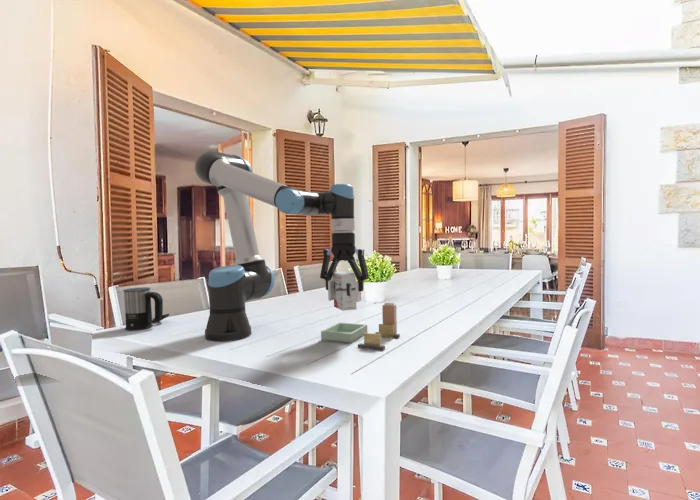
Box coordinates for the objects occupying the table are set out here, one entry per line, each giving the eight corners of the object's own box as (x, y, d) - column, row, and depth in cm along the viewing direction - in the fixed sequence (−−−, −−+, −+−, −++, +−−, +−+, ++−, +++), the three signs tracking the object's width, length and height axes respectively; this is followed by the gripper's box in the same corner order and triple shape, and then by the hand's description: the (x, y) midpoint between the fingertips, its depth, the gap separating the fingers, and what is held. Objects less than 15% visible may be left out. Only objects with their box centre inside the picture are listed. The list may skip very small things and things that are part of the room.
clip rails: (364, 347, 128) (364, 333, 128) (379, 336, 140) (379, 323, 140) (380, 348, 126) (379, 334, 126) (394, 337, 138) (393, 325, 138)
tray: (321, 340, 136) (321, 331, 136) (339, 331, 149) (339, 322, 149) (351, 343, 132) (351, 333, 132) (367, 333, 145) (367, 324, 145)
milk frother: (121, 331, 154) (119, 291, 153) (133, 322, 169) (131, 285, 168) (163, 329, 157) (162, 289, 156) (171, 320, 172) (170, 283, 171)
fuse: (382, 335, 142) (382, 303, 141) (385, 333, 144) (384, 301, 144) (394, 336, 140) (393, 303, 140) (396, 334, 143) (396, 302, 142)
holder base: (357, 347, 127) (357, 344, 127) (376, 335, 142) (376, 332, 142) (383, 350, 124) (383, 347, 124) (399, 337, 139) (399, 334, 139)
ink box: (333, 306, 143) (332, 271, 142) (346, 305, 145) (346, 270, 144) (342, 311, 135) (341, 273, 135) (357, 309, 137) (356, 273, 137)
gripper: (308, 232, 140) (309, 300, 141) (370, 231, 131) (371, 304, 132) (318, 232, 147) (320, 297, 148) (378, 231, 138) (379, 300, 139)
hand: (344, 300), depth 140 cm, fingers closed on ink box, 9 cm apart
